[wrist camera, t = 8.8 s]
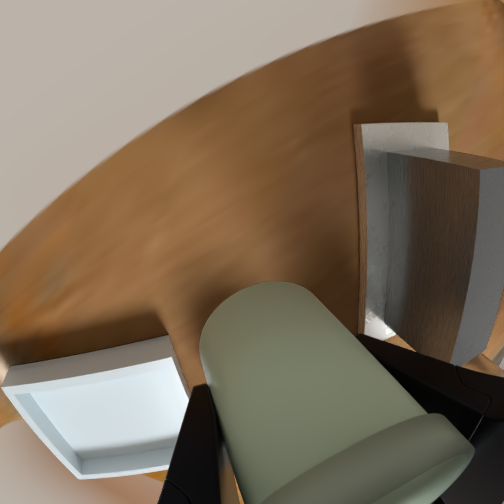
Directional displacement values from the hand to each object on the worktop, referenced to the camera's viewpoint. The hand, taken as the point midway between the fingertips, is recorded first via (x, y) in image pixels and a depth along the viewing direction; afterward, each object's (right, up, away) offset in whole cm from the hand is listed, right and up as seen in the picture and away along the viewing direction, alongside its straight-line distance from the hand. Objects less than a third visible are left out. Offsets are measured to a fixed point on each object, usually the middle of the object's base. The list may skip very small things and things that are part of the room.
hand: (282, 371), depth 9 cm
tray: (-12, -9, +13) cm, 20 cm away
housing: (+11, +5, +15) cm, 19 cm away
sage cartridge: (0, +1, +1) cm, 2 cm away
